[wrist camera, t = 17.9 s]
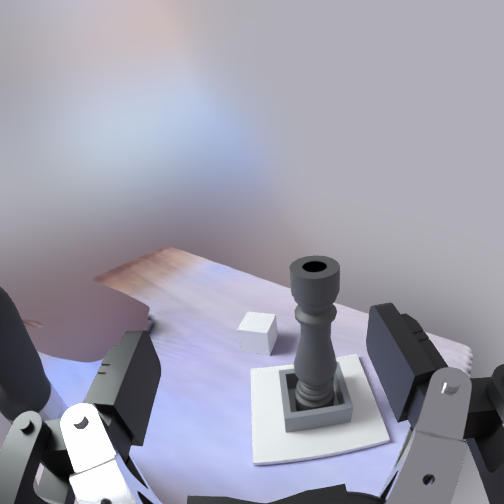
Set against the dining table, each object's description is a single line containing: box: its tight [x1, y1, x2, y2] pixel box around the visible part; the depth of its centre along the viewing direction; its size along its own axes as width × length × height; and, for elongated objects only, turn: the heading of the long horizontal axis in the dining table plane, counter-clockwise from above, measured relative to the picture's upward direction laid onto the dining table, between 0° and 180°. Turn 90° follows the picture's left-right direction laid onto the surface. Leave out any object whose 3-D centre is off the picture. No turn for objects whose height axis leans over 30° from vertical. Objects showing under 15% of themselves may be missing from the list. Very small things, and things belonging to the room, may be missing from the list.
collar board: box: [251, 354, 390, 466], centre depth 44 cm, size 20×20×5 cm
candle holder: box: [290, 256, 340, 412], centre depth 39 cm, size 6×6×25 cm
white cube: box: [237, 312, 278, 356], centre depth 60 cm, size 6×6×6 cm
